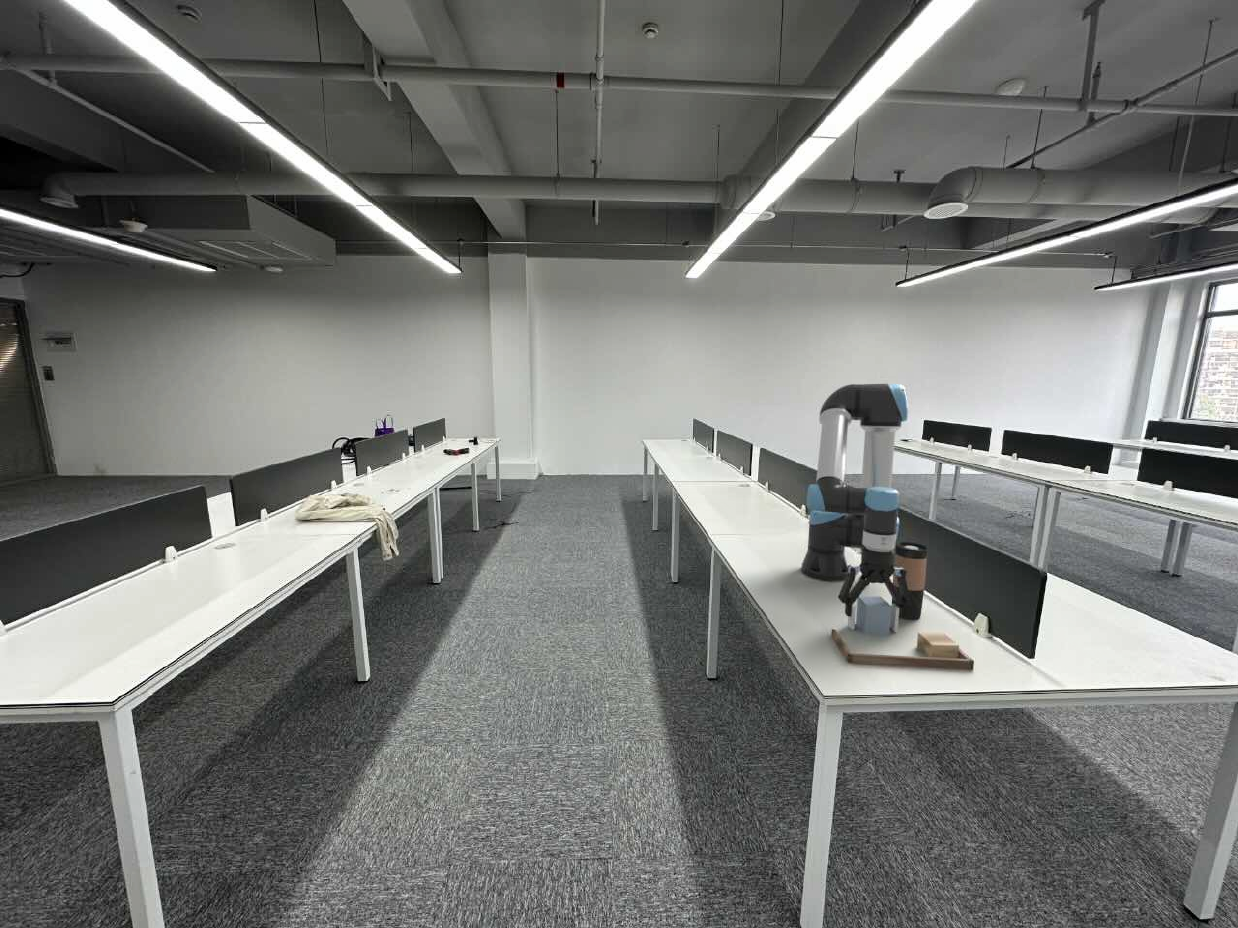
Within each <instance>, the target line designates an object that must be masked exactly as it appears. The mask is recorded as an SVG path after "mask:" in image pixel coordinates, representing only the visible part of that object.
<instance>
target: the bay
mask: <svg viewBox="0 0 1238 928" xmlns="http://www.w3.org/2000/svg"><path fill="white" fill-rule="evenodd" d="M830 638H832V640H833V641H834V643H835V645H836V646H837V648H838V650H839V651H840V653H841V654H842V655H843V656H844V658H845V660H846V661H847V663H848V664H859V665H878V666H879V665H880V666H898V667H916V668H918V667H921V668H922V667H923V668H935V669H937V668H940V669H953V670H954V669H956V670H974V668H975V667H974V665H975V661H974V660H973V658H971V657H970V656H969V655H968V654H966V653H965V652H964V651H963V650H962V649H961V648H960V647H959V652H958V659H955V658H934V657H927V656H910V655H891V654H890V655H889V654H888V655H886V654H869V653H852V652H851V650H850V649H849V647H848V646H847V645H846V643H845V642H844V640H843V639H842V638H841V636H840V635H839V634H838V631H837V630H836V629H831V634H830Z"/></svg>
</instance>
